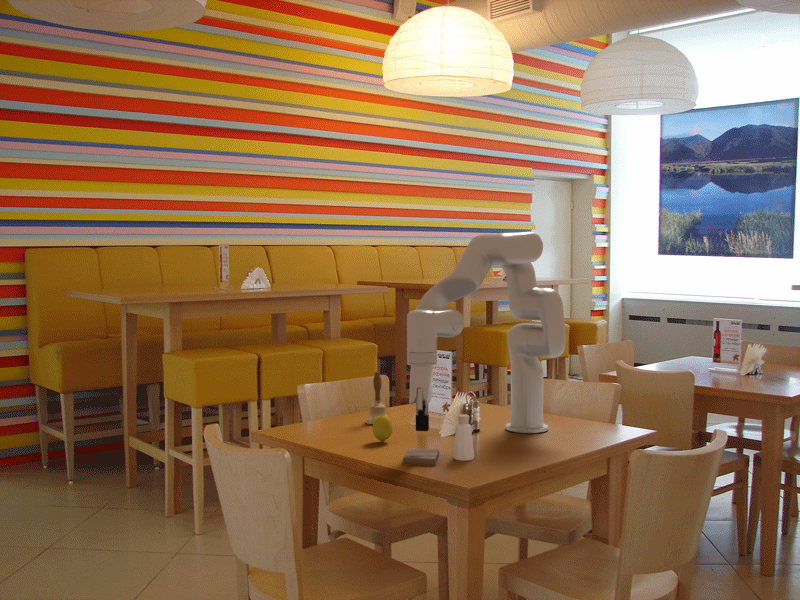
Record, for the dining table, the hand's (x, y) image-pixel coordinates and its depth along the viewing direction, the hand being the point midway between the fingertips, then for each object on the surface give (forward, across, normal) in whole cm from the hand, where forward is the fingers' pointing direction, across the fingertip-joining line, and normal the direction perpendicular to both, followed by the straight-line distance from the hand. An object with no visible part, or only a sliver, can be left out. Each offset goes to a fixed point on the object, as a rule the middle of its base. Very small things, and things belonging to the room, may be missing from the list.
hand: (422, 430), depth 195 cm
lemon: (+7, -16, -13) cm, 22 cm away
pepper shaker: (+7, -1, +10) cm, 13 cm away
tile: (+6, -3, 0) cm, 7 cm away
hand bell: (+7, -43, -19) cm, 48 cm away
